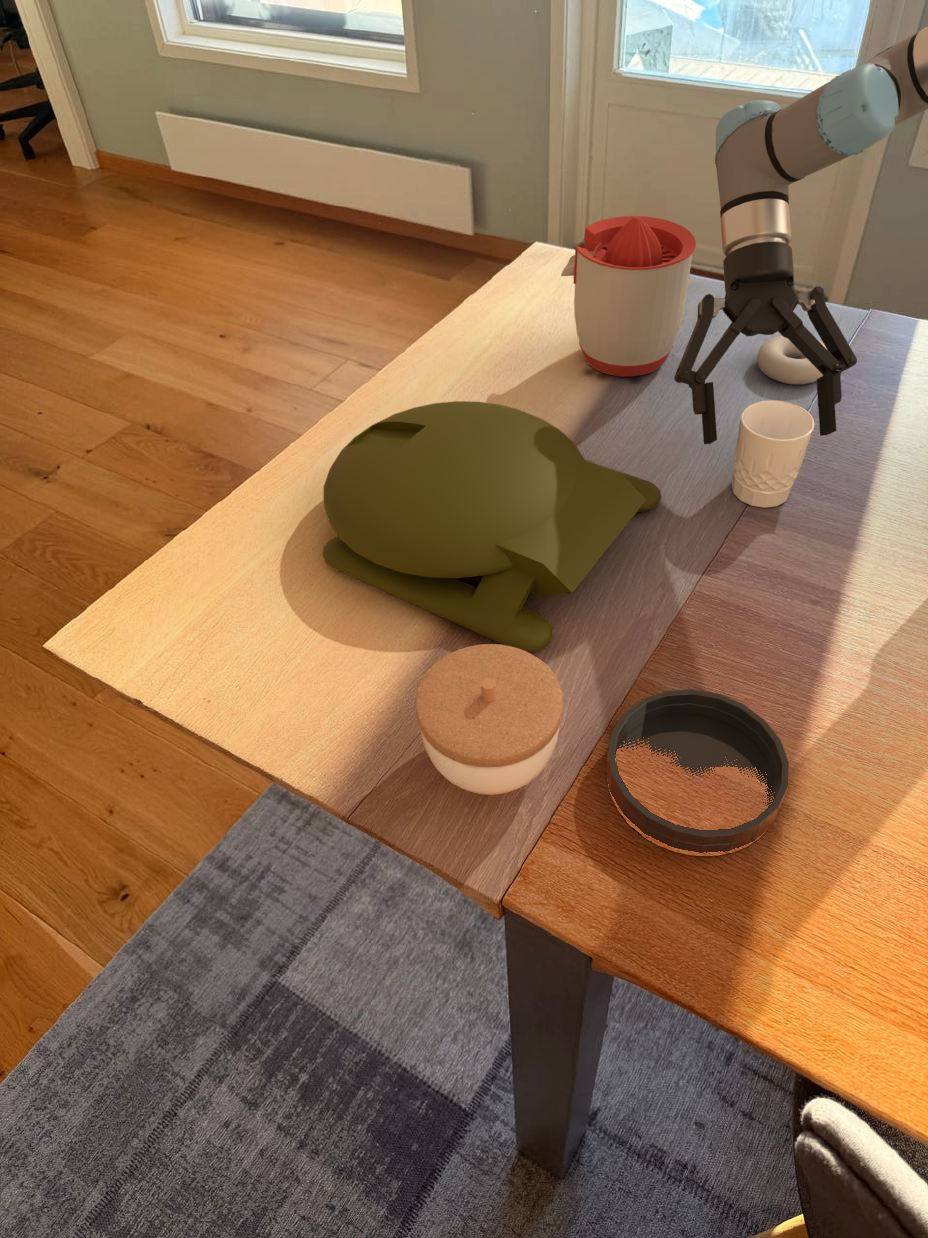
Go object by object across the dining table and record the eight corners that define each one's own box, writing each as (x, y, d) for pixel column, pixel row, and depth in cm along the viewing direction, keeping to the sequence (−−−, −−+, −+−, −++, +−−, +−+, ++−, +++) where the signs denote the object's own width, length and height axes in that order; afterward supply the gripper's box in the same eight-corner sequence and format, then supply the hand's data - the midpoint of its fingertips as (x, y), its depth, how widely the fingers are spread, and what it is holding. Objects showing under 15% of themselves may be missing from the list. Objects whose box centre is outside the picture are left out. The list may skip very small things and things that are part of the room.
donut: (744, 378, 125) (817, 396, 121) (748, 356, 123) (823, 373, 119) (768, 345, 131) (838, 361, 127) (772, 323, 128) (844, 338, 124)
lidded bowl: (522, 842, 77) (522, 769, 69) (397, 784, 82) (383, 709, 74) (582, 735, 85) (588, 658, 77) (464, 688, 89) (459, 610, 81)
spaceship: (667, 499, 108) (678, 429, 101) (537, 667, 91) (538, 598, 84) (427, 415, 122) (422, 350, 115) (275, 547, 105) (258, 480, 98)
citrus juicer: (571, 323, 138) (577, 186, 123) (687, 336, 133) (707, 197, 119) (546, 377, 127) (549, 235, 113) (670, 393, 123) (689, 248, 109)
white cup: (761, 520, 105) (779, 449, 97) (712, 486, 109) (726, 415, 102) (809, 494, 107) (829, 423, 100) (759, 462, 112) (776, 392, 105)
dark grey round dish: (783, 729, 84) (791, 705, 82) (777, 875, 74) (786, 853, 72) (619, 700, 87) (622, 676, 85) (593, 836, 77) (595, 814, 75)
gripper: (850, 255, 107) (862, 435, 108) (641, 270, 107) (653, 450, 107) (880, 230, 100) (893, 423, 100) (655, 246, 99) (669, 440, 100)
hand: (769, 438), depth 104 cm, fingers open, 13 cm apart
